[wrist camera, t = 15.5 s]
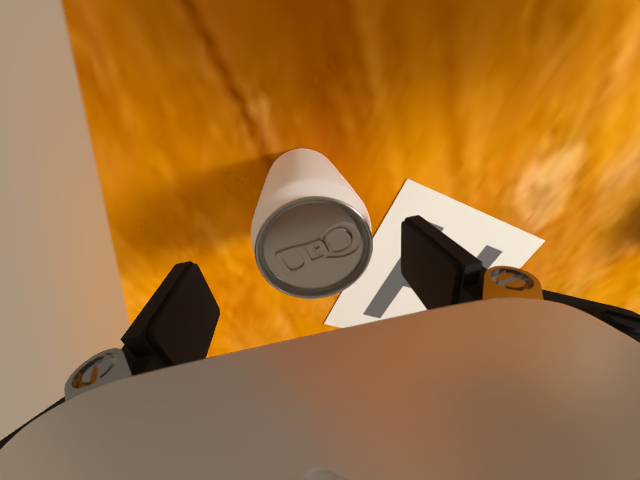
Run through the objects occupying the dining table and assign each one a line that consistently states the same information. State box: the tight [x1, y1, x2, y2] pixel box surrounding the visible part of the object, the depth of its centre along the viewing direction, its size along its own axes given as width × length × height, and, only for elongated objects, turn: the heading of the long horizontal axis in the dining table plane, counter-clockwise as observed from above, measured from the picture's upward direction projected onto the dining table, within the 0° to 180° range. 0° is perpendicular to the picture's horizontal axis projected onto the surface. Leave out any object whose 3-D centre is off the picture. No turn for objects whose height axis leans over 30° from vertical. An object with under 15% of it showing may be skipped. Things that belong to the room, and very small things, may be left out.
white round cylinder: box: [251, 148, 373, 299], centre depth 16 cm, size 6×6×12 cm
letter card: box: [324, 179, 545, 328], centre depth 29 cm, size 20×20×1 cm
